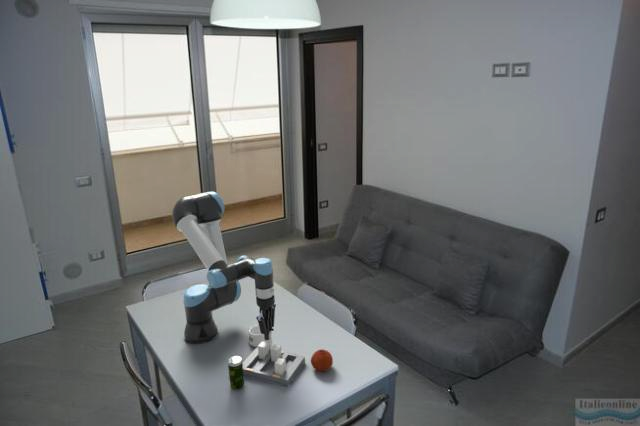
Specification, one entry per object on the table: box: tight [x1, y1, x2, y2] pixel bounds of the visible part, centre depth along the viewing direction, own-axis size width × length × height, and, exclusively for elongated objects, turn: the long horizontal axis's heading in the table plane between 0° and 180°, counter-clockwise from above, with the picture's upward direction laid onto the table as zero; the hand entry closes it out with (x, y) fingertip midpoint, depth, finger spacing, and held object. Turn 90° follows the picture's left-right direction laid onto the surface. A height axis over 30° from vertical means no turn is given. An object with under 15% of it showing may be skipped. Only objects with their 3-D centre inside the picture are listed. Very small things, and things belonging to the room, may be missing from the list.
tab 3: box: [275, 358, 286, 377], centre depth 177 cm, size 3×4×6 cm
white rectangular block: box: [258, 341, 270, 360], centre depth 189 cm, size 3×4×6 cm
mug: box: [247, 324, 265, 348], centre depth 204 cm, size 12×10×6 cm
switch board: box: [242, 347, 306, 387], centre depth 184 cm, size 22×16×3 cm
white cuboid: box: [270, 343, 283, 362], centre depth 187 cm, size 3×4×6 cm
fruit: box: [310, 348, 334, 372], centre depth 182 cm, size 9×9×8 cm
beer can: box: [227, 355, 245, 392], centre depth 173 cm, size 5×5×12 cm
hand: (268, 344), depth 193 cm, fingers closed
